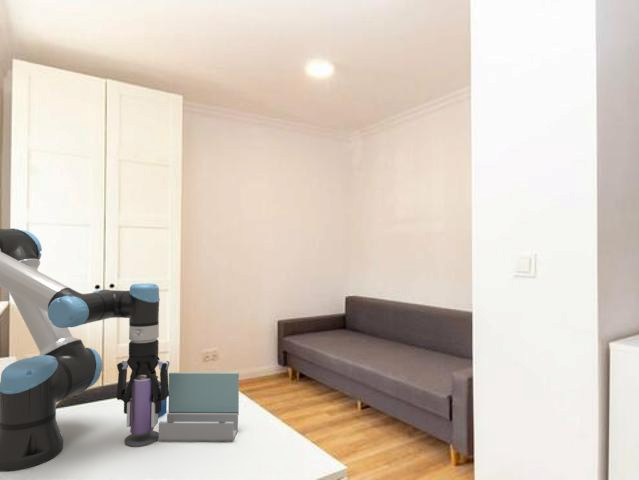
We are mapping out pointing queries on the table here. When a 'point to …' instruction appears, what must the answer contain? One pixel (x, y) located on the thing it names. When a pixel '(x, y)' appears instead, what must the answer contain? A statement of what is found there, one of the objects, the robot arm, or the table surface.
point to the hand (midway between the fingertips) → (142, 424)
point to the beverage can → (141, 406)
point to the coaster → (141, 439)
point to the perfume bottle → (163, 406)
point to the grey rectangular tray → (199, 427)
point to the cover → (203, 392)
